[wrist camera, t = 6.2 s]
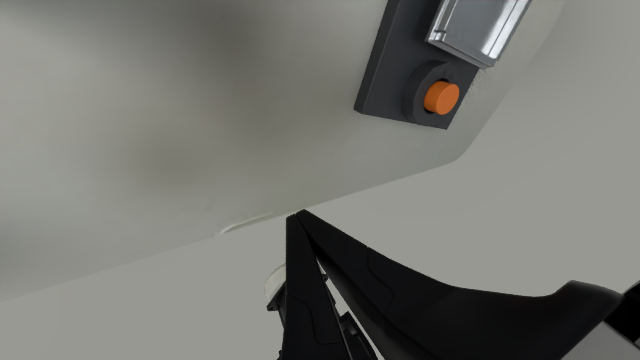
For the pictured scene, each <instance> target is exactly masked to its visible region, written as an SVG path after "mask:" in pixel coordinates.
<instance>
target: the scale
mask: <svg viewBox="0 0 640 360" xmlns="http://www.w3.org/2000/svg"><path fill="white" fill-rule="evenodd" d="M440 2H441V0H388V3H387V6H386V9H385V13H384V16H383V19H382V22H381V25H380V28H379V31H378V34H377V37H376V40H375V44H374V47H373V50H372V53H371V56H370V59H369V62H368V65H367V68H366V71H365V75H364V78H363V81H362V84H361V87H360V90H359V93H358V96H357V99H356V102H355V106H354V110H356V111H358V112H359V113H361V114H366V115H371V116H377V117H382V118H387V119H393V120H398V121H403V122H409V123H414V124H418V125H423V126H430V127H435V128H441V129H446V130H447V128H448V126H449V125H450V123H451V121H452V119H453V117H454V115H455V113H456V111H457V110H458V108H459V106H460V104H461V102H462V100H463V98H464V96H465V94H466V93H467V91H468V89H469V87H470V85H471V83H472V81H473V79H474V78H475V76H476V74H477V72H478V70H479V68H478V67H476V66H474V65H472V64H470V63H468V62H466V61H464V60H461V59H459V58H457V57H455V56H453V55H451V54H449V53H447V52H445V51H443V50H441V49H439V48H437V47H435V46H433V45H430V44H428V43H426V42H425V39H426V36H427V34H428V31H429V29H430V26H431V24H432V21H433V19H434V17H435V14H436V12H437V9H438V7H439V4H440ZM437 81H443V82H447V83H451V84H455V85H457V86H458V88H459V97H458V100H457V102H456V104H455V105H454V107H453V108H452V109H451V110H450V111H449V112H448V113H446V114H442V115H441V114H438V113H435V112H432V111H429V110H427V109H426V108H425V107H424V98H425V95H426V93H427V91H428V89H429V87H430V86H431V85H432V84H433V83H435V82H437Z"/></svg>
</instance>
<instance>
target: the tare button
mask: <svg viewBox="0 0 640 360" xmlns="http://www.w3.org/2000/svg"><path fill="white" fill-rule="evenodd" d="M458 97H459V88H458V86H457V85H455V84H451V83H447V82H443V81H437V82H435V83H433V84H432V85H431V86H430V87H429V89H428V91H427V93H426V95H425V98H424V107H425V108H426V109H427V110H429V111H432V112H435V113H438V114H441V115H442V114H446V113H448V112H449V111H450V110H451V109H452V108H453V107H454V105H455V104H456V102H457V100H458Z"/></svg>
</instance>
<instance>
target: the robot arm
mask: <svg viewBox="0 0 640 360" xmlns="http://www.w3.org/2000/svg"><path fill="white" fill-rule="evenodd" d="M316 258H317V259H316ZM317 260H318V262H319V263H320V265H321V266H322V268H323V269H324V271H325V272H326V274H322V273H321V270H320V267H319V264H318V262H317ZM327 275H328V276H327ZM328 277H329V278H330V280H331V281H332V283H333V284H334V285H335V287H336V288H337V290H338V291H339V293H340V294H341V296H342V297H343V299H344V300H345V302H346V303H347V305H348V306H349V307H350V309H351V310H352V312H353V313H354V315H355V316H356V318H357V319H358V321H359V322H360V324H361V325H362V327H363V328H364V330H365V331H366V333H367V334H368V336H369V337H370V339H371V340H372V342H373V343H374V345H375V346H376V347H377V349H378V350H379V352H380V353H381V355H382V356H383V357H384V359H385V360H640V280H639V281H638V282H636V283H635V284H634V285H632V286H631V287H630V288H629V289H627V290H626V291H625V292H624V293H622V294H620V293H618V292H616V291H613V290H610V289H607V288H605V287H601V286H598V285H593V284H589V283H584V282H579V281H574V280H571V281H569V282H567V283H566V284H565V285H564V286H563V287H561V288H560V289H559V290H557V291H556V292H555V293H553V294H551V295H547V296H539V297H531V296H521V295H513V294H505V293H498V292H490V291H482V290H475V289H467V288H460V287H455V286H451V285H448V284H445V283H442V282H440V281H437V280H435V279H433V278H431V277H428V276H426V275H424V274H422V273H420V272H417V271H415V270H413V269H411V268H408V267H406V266H404V265H402V264H400V263H398V262H395V261H393V260H391V259H389V258H387V257H386V256H384V255H382V254H380V253H378V252H376V251H375V250H373V249H371V248H370V247H368V248H367V246H366V245H364V244H363V243H361V242H359V241H358V240H356V239H354V238H353V237H351V236H349V235H347V234H346V233H344V232H342V231H341V230H339V229H337V228H336V227H334V226H332V225H331V224H329V223H327V222H325V221H324V220H322V219H320V218H319V217H317V216H315V215H314V214H312V213H310V212H309V211H307V210H305V209H303V210H301V211H299V212H297V213H296V214H293V215H290V216H288V217H287V218H286V280H285V282H284V283H283V284H282V286H281V287H280V289H279V290H278V291H277V293H276V294H275V296H274V297H273V298H272V300H271V301H270V303H269V304H268V305H267V310H268V311H277V310H278V312H279V315H280V318H281V322H282V325H283V328H284V333H283V342H282V350H280V351H279V355H280V356H279V358H278V359H277V360H378V358H377V356H376V354H375V352H374V350H373V348H372V346H371V345H370V343H369V341H368V340H367V338H366V337H365V335H364V334H363V332H362V331H361V329H360V328H359V326H358V325H357V323H356V322H355V320H354V319H353V317H352V316H351V314H350V313H349V311H347V312H346V313H345V314H344V315H342V316H341V317H340V315H339V313H338V311H337V309H336V307H335V304H336V302H335V300H334V298H333V296H332V294H331V292H330V290H329V289H328V287H327V285H326V283H325V282H326V281H327V280H328Z"/></svg>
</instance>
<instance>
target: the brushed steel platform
mask: <svg viewBox="0 0 640 360" xmlns="http://www.w3.org/2000/svg"><path fill="white" fill-rule="evenodd" d="M531 2H532V0H441V2H440V4H439V7H438V9H437V12H436V14H435V17H434V19H433V21H432V24H431V26H430V29H429V31H428V34H427V36H426V39H425V42H426V43H428V44H430V45H433V46H435V47H437V48H439V49H441V50H443V51H445V52H447V53H449V54H451V55H453V56H455V57H457V58H459V59H461V60H464V61H466V62H468V63H470V64H472V65H474V66H476V67H478V68H480V69H483V70H486V68H487V67H493V66H494V64H495V62H496V61H498V60H499V59H500V57H501V55H502V53H503V52H504V50H505V48H506V46H507V45H508V43H509V41H510V39H511V37H512V36H513V34H514V32H515V30H516V28H517V27H518V25H519V23H520V21H521V19H522V18H523V16H524V14H525V12H526V10H527V9H528V7H529V5H530V3H531Z"/></svg>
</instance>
